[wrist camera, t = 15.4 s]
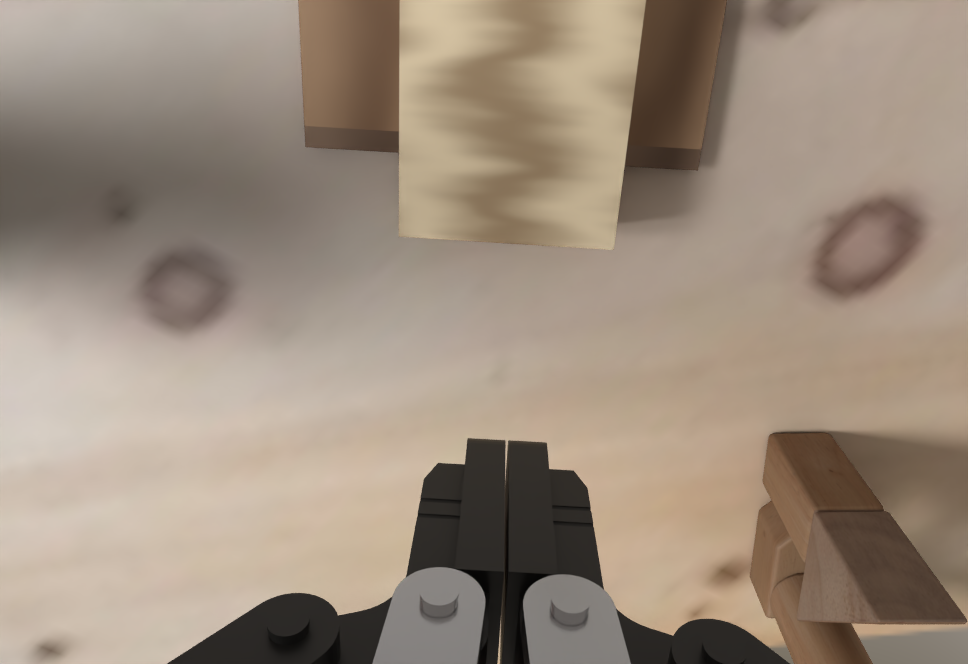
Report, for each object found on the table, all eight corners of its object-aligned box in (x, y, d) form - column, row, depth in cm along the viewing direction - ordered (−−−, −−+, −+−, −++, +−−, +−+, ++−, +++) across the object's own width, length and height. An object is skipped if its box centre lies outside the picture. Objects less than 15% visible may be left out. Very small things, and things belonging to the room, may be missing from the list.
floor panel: (310, 143, 37) (305, 146, 36) (302, -36, 33) (296, -38, 32) (693, 166, 36) (697, 170, 35) (723, -13, 33) (729, -13, 32)
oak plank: (398, 236, 34) (400, -174, 28) (408, 217, 37) (411, -157, 31) (613, 249, 34) (666, -160, 27) (605, 229, 37) (651, -144, 30)
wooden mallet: (831, 430, 42) (1032, 704, 26) (805, 575, 46) (963, 889, 30) (765, 431, 42) (923, 703, 26) (746, 576, 47) (871, 887, 30)
